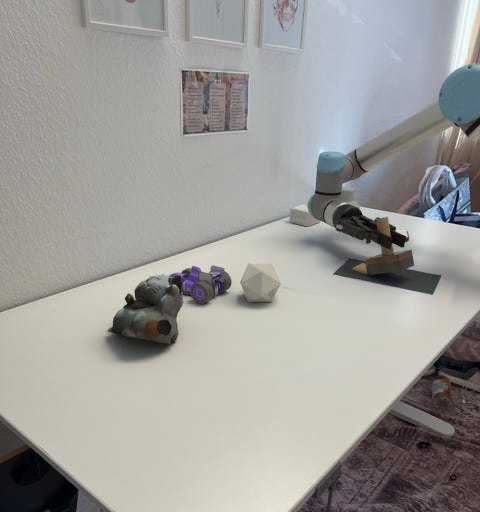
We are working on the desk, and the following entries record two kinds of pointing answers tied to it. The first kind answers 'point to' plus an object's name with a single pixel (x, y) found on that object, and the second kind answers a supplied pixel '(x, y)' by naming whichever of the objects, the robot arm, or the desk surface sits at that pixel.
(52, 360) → the desk surface
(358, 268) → the pad
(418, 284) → the mat
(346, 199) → the air freshener
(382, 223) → the wooden peg stand
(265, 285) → the die
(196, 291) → the toy race car
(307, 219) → the small box
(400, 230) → the phone case
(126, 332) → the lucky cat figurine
